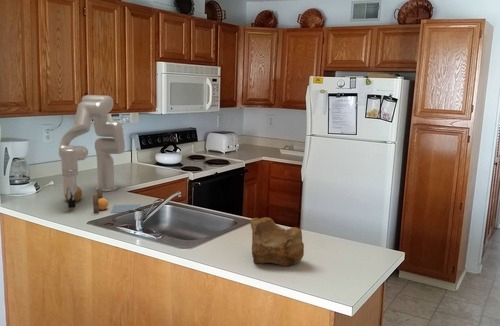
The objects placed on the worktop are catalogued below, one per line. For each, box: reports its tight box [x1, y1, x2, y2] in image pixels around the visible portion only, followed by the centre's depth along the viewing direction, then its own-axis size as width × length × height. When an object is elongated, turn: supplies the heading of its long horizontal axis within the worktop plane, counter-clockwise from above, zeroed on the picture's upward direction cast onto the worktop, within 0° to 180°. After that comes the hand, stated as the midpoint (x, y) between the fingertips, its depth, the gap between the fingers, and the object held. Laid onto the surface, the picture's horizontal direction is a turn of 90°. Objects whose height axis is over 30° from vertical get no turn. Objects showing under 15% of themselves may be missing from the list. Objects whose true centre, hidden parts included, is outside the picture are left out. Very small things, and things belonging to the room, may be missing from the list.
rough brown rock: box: [249, 216, 305, 267], centre depth 178 cm, size 23×17×15 cm
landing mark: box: [110, 203, 141, 214], centre depth 245 cm, size 14×14×1 cm
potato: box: [64, 186, 83, 202], centre depth 258 cm, size 10×14×8 cm
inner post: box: [96, 189, 104, 199], centre depth 248 cm, size 3×3×9 cm
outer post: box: [92, 194, 100, 215], centre depth 236 cm, size 3×3×9 cm
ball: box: [98, 197, 109, 211], centre depth 242 cm, size 6×6×6 cm
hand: (72, 207), depth 241 cm, fingers closed
